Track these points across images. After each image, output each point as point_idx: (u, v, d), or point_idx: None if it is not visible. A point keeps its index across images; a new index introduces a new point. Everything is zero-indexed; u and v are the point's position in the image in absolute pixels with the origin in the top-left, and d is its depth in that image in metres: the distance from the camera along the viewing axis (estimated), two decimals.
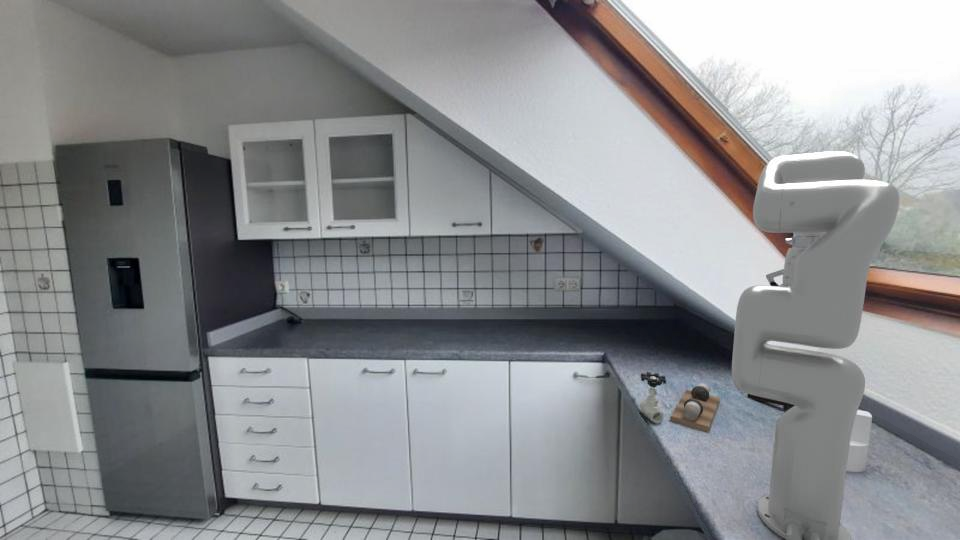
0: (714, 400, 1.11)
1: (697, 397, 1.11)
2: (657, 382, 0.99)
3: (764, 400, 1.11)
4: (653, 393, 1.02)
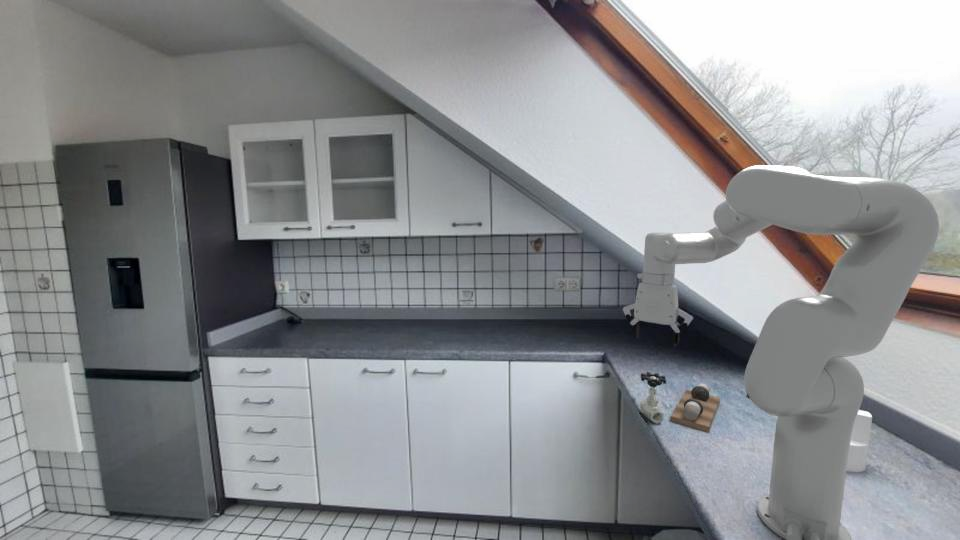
0: (714, 400, 1.11)
1: (697, 397, 1.11)
2: (657, 382, 0.99)
3: None
4: (653, 393, 1.02)
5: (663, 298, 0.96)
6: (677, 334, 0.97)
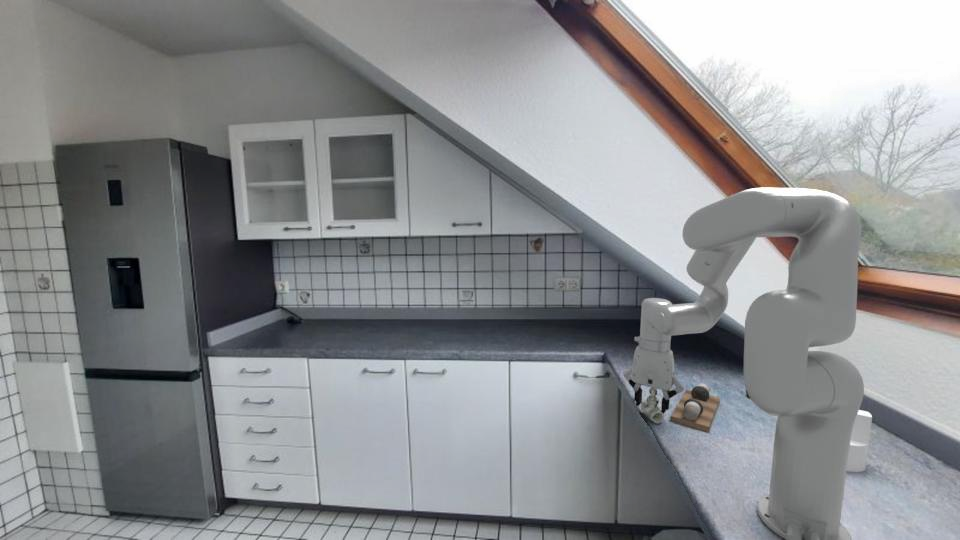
0: (714, 400, 1.11)
1: (697, 397, 1.11)
2: None
3: None
4: (654, 393, 1.02)
5: (659, 364, 0.98)
6: (667, 401, 1.00)
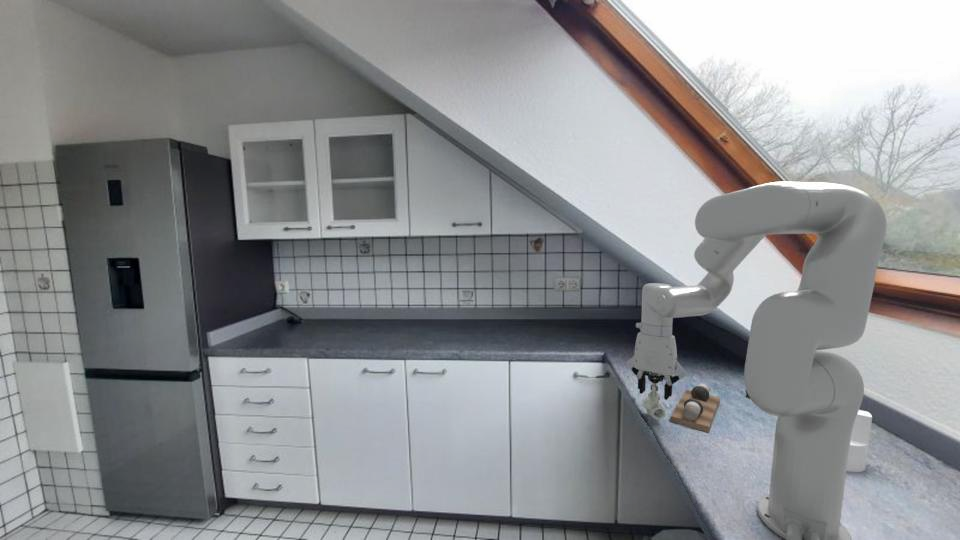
0: (714, 400, 1.11)
1: (697, 397, 1.11)
2: (658, 378, 0.99)
3: None
4: (655, 389, 1.01)
5: (662, 349, 0.97)
6: (669, 387, 0.99)
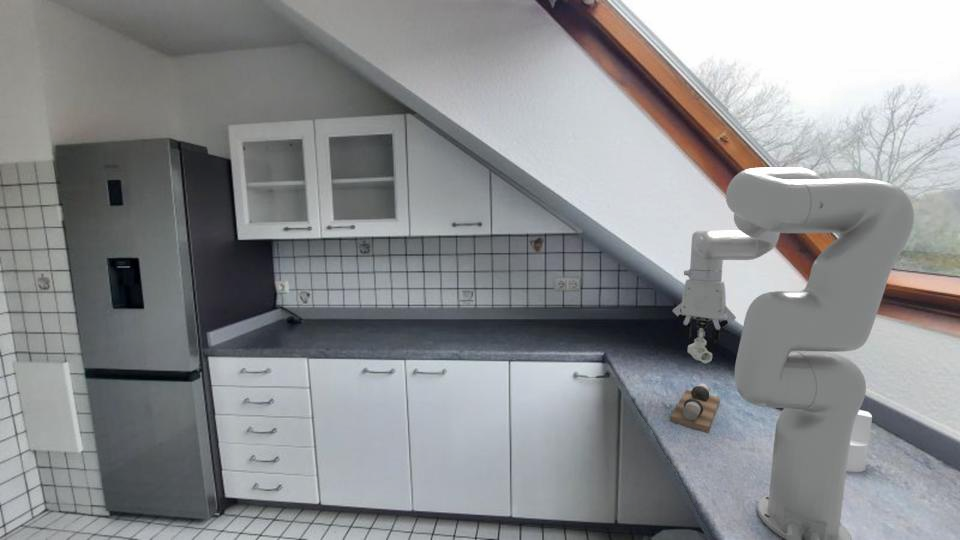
0: (714, 400, 1.11)
1: (697, 397, 1.11)
2: (706, 322, 1.01)
3: None
4: (702, 334, 1.04)
5: (712, 293, 1.00)
6: (718, 331, 1.01)
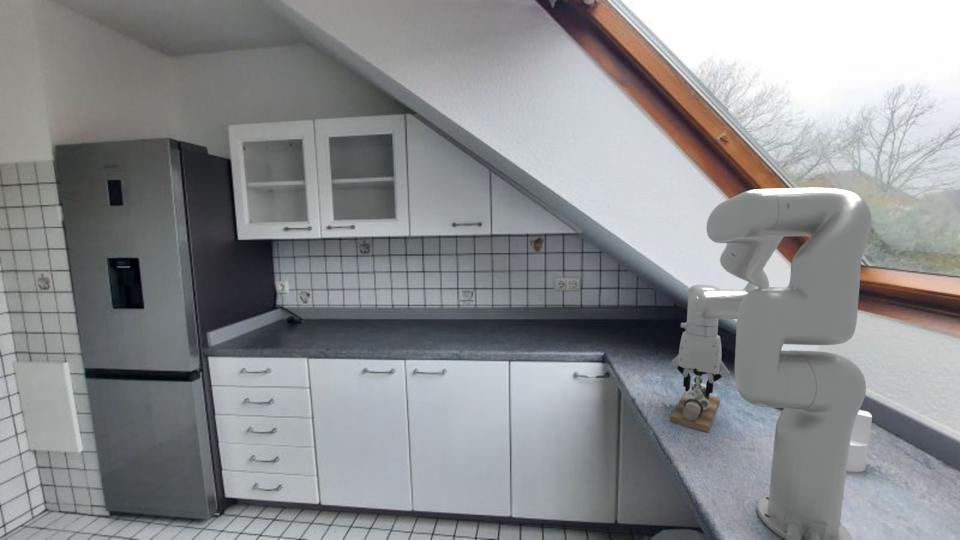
0: (714, 400, 1.11)
1: None
2: None
3: None
4: (699, 381, 1.06)
5: (708, 348, 1.01)
6: (711, 384, 1.04)
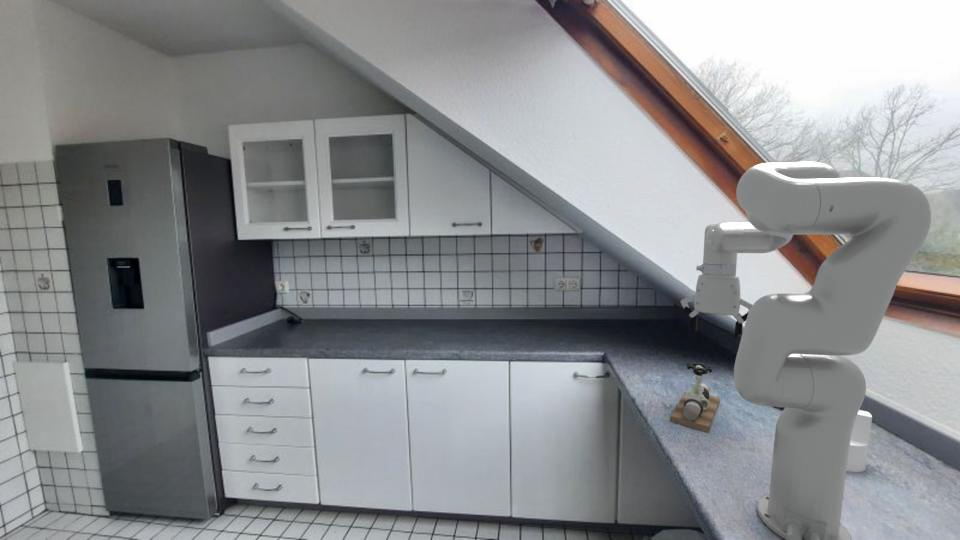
0: (714, 400, 1.11)
1: None
2: (703, 370, 1.03)
3: None
4: (699, 381, 1.06)
5: (726, 288, 0.96)
6: (741, 325, 0.97)
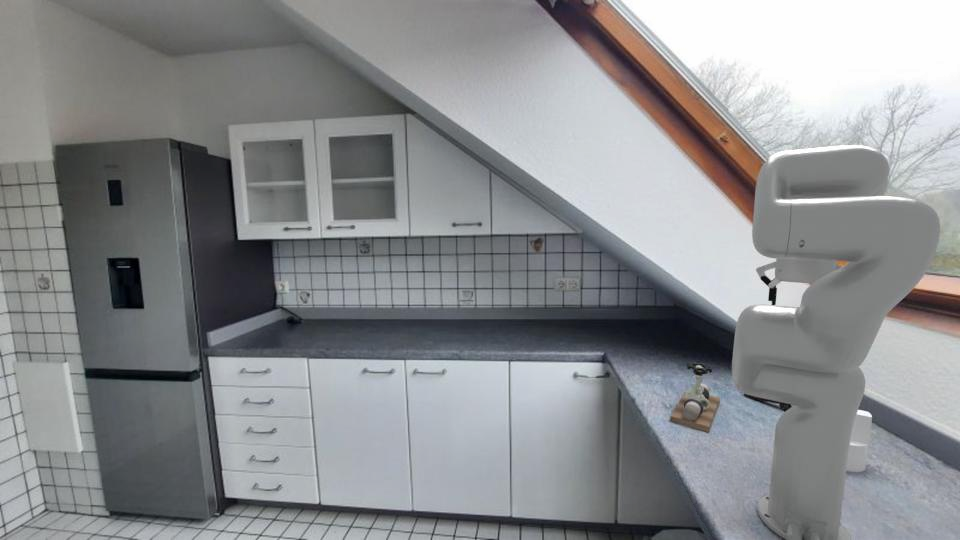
0: (714, 400, 1.11)
1: None
2: (703, 370, 1.03)
3: (760, 399, 1.12)
4: (699, 381, 1.06)
5: None
6: None
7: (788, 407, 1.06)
